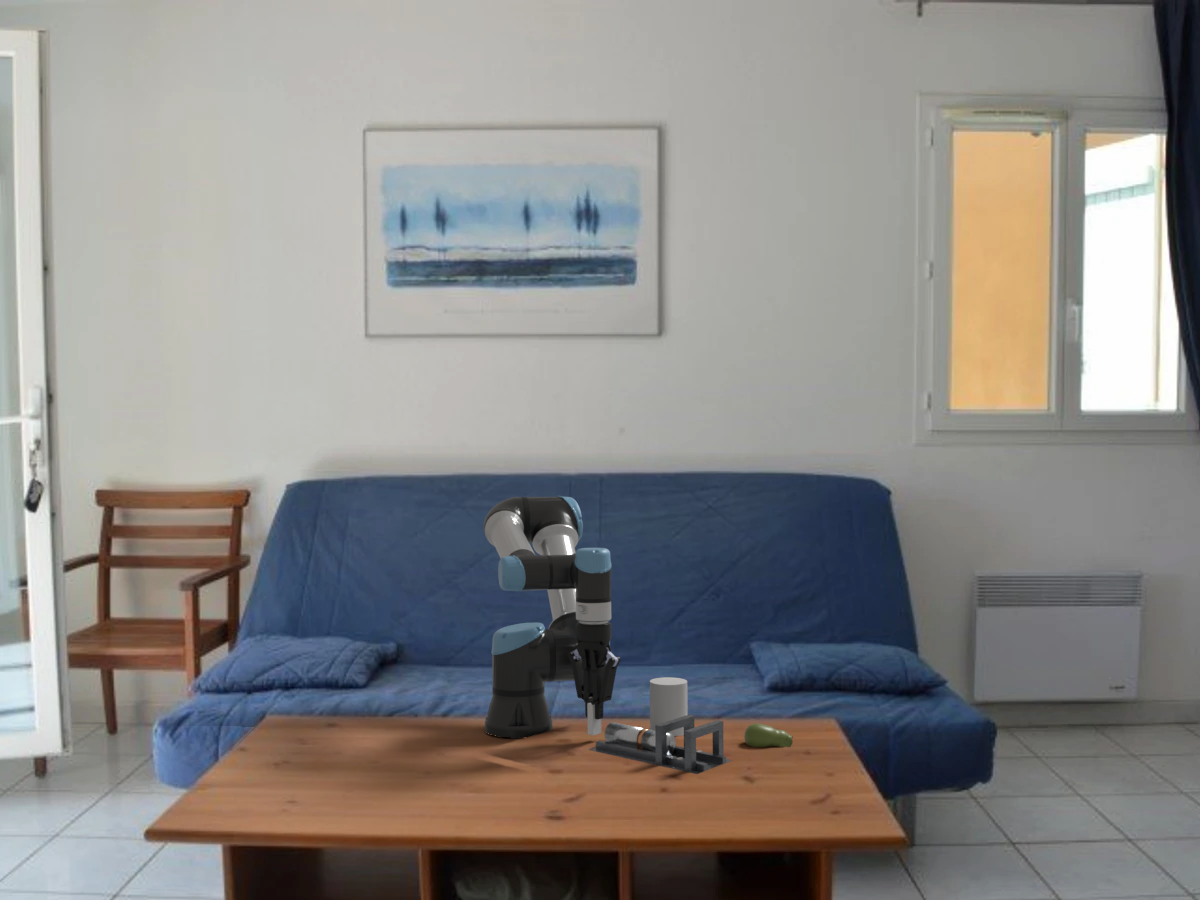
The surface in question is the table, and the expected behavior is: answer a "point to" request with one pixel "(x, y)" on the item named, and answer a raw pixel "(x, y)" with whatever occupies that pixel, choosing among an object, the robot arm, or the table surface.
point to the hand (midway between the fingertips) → (594, 733)
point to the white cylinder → (668, 701)
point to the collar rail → (676, 747)
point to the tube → (636, 737)
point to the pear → (766, 736)
